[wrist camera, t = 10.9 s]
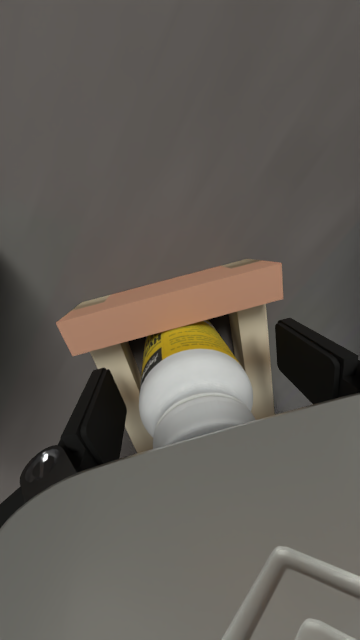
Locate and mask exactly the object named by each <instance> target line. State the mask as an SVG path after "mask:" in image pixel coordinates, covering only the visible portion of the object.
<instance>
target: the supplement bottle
mask: <svg viewBox="0 0 360 640" xmlns="http://www.w3.org/2000/svg"><path fill="white" fill-rule="evenodd" d="M252 405H253V390H252V386H251V382H250V380H249V378H248V376H247V374H246V372H245V371H244V369H243V367H242V366H241V364H240V363H239V361H238V360H237V359H236V357H235V356H234V355H233V353H232V352H231V351H230V349H229V348H228V346H227V345H226V343H225V342H224V341H223V339H222V338H221V336H220V335H219V334H218V332H217V331H216V330H215V328H214V327H213V325H212V324H211V323H210V321H209V320H208V319H207V320H204V321H200V322H196V323H193V324H189V325H185V326H182V327H178V328H174V329H171V330H167V331H163V332H160V333H156V334H152V335H149V336H146V340H145V348H144V356H143V366H142V375H141V383H140V393H139V412H140V417H141V420H142V423H143V425H144V427H145V429H146V430H147V431H148V433H149V434H150V435H151V436H152V437H153V449H155V448H159V447H162V446H166V445H169V444H173V443H176V442H180V441H183V440H187V439H190V438H194V437H197V436H201V435H204V434H208V433H211V432H215V431H219V430H222V429H226V428H229V427H233V426H237V425H240V424H244V423H247V422H251V421H254V420H255V418H254V416H253V414H252V413H251V410H252Z"/></svg>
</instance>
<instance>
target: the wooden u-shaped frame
mask: <svg viewBox="0 0 360 640" xmlns="http://www.w3.org/2000/svg"><path fill="white" fill-rule="evenodd" d="M281 299H283V283H282V263H278V262H270V261H262V260H254V259H245V260H241V261H237V262H233V263H229V264H226V265H222V266H218V267H214V268H210V269H207V270H203V271H199V272H195V273H191V274H188V275H184V276H180V277H176V278H172V279H169V280H165V281H161V282H157V283H153V284H150V285H146V286H142V287H138V288H134V289H131V290H127V291H123V292H119V293H115V294H112V295H108V296H104V297H100V298H96V299H93V300H89V301H85V302H82V303H80V304H79V305H78V306H77V307H75V308H74V309H73V310H72V311H70V312H69V313H68V314H66V315H65V316H64V317H63V318H61V319H60V320H59V321H58V322H56V324H57V326H58V328H59V330H60V332H61V334H62V336H63V338H64V340H65V342H66V344H67V346H68V348H69V350H70V352H71V354H72V356H75V355H79V354H83V353H86V352H90V353H91V355H92V357H93V359H94V361H95V364H96V366H97V368H98V369H101V368H106V370H107V369H109V370H110V371H111V374H112V376H113V378H114V380H115V383H116V385H117V387H118V389H119V391H120V394H121V396H122V398H123V400H124V403H125V405H126V408H127V415H126V421H125V428H126V430H127V432H128V434H129V436H130V438H131V441H132V443H133V445H134V447H135V449H136V451H137V453H141V452H145V451H148V450H152V449H153V437H152V436H151V435H150V434H149V433H148V431H147V430H146V429H145V427H144V425H143V423H142V420H141V417H140V412H139V393H140V383H141V375H140V372H139V369H138V367H137V364H136V362H135V359H134V356H133V354H132V351H131V348H130V346H129V343H128V341H130V340H134V339H138V338H141V337H145V336H149V335H152V334H156V333H160V332H163V331H167V330H171V329H174V328H178V327H182V326H185V325H189V324H193V323H196V322H200V321H204V320H207V319H211V318H215V317H219V316H222V315H226V314H228V315H229V321H230V328H231V334H232V340H233V347H234V353H235V357H236V359H237V360H238V361H239V363H240V364H241V366H242V367H243V369H244V371H245V372H246V374H247V376H248V378H249V380H250V382H251V386H252V390H253V405H252V410H251V413H252V414H253V416H254V418H255V420H258V419H262V418H265V417H269V416H273V415H275V414H274V401H273V389H272V377H271V364H270V352H269V340H268V327H267V315H266V303H270V302H274V301H277V300H281Z"/></svg>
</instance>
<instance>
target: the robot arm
mask: <svg viewBox="0 0 360 640" xmlns="http://www.w3.org/2000/svg"><path fill="white" fill-rule="evenodd" d="M275 331H276V349H277V365H278V368H279V370H280V371H281V372H282V373H283V374H284V375H285V376H286V377H287V378H288V379H289V380H290V381H291V382H292V383H293V384H294V385H295V386H296V387H297V388H298V389H299V390H300V391H301V392H302V393H303V394H304V395H305V396H306V397H307V398H308V399H309V401H310V402H311V403H312V404H313V405H309V406H306V407H302V408H298V409H295V410H291V411H287V412H284V413H280V414H276V415H273V416H269V417H265V418H262V419H258V420H254V421H251V422H247V423H244V424H240V425H237V426H233V427H229V428H226V429H222V430H219V431H215V432H211V433H208V434H204V435H201V436H197V437H194V438H190V439H187V440H183V441H180V442H176V443H173V444H169V445H166V446H162V447H159V448H155V449H152V450H148V451H145V452H141V453H138V454H134V455H131V456H127V457H124V458H121V459H119V457H120V451H121V445H122V439H123V433H124V427H125V421H126V415H127V408H126V405H125V403H124V400H123V398H122V396H121V394H120V391H119V389H118V387H117V385H116V383H115V380H114V378H113V376H112V374H111V371H110V370H109V369H107V370H106V368H101V369H97V370H94V371H93V372H92V374H91V376H90V378H89V380H88V382H87V384H86V386H85V388H84V390H83V392H82V394H81V397H80V399H79V401H78V403H77V405H76V407H75V409H74V411H73V413H72V415H71V417H70V419H69V421H68V423H67V425H66V427H65V430H64V432H63V434H62V436H61V440H60V442H59V444H58V445H55V446H50V447H48V448H46V449H44V450H43V451H41V452H40V453H38V454H37V455H36V456H35V457H34V458H32V459H31V461H30V462H29V463H28V464H27V465H26V467H25V468H24V470H23V471H22V474H21V477H20V485H21V487H19V488H18V489H17V490H16V491H15V492H14V493H13V494H11V495H10V496H9V497H8V498H7V499H6V500H5V501H3V502H2V503H1V504H0V640H360V361H359V360H358V355H356V354H354V353H353V352H351V351H349V350H347V349H345V348H344V347H342V346H340V345H338V344H336V343H335V342H333V341H331V340H329V339H327V338H326V337H324V336H322V335H320V334H318V333H317V332H315V331H313V330H311V329H309V328H308V327H306V326H304V325H302V324H300V323H299V322H297V321H295V320H293V319H291V318H287V319H283V320H279V321H278V324H276V325H275Z"/></svg>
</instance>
